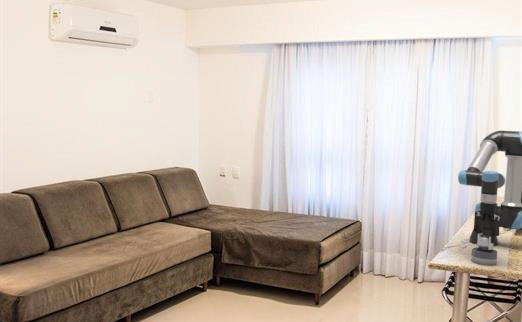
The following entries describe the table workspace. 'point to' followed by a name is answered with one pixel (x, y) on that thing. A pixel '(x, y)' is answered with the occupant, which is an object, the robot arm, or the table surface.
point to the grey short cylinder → (484, 256)
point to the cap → (483, 242)
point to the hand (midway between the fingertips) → (484, 247)
